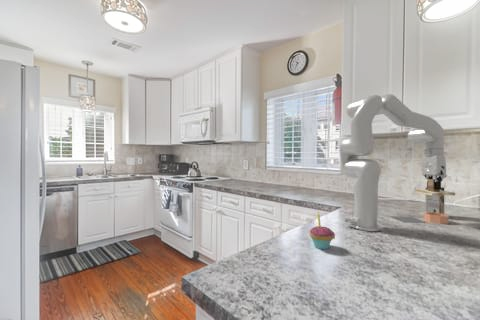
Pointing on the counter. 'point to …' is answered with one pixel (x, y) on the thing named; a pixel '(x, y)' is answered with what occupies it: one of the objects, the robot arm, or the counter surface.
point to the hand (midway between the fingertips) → (433, 188)
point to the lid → (433, 190)
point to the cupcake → (321, 236)
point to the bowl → (436, 217)
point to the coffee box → (435, 203)
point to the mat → (408, 219)
